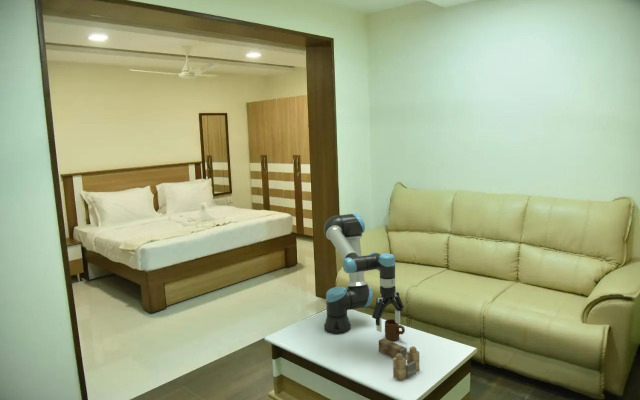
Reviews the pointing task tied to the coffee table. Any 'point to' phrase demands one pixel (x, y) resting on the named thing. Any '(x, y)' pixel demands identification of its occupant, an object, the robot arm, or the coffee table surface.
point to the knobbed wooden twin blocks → (406, 370)
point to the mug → (393, 330)
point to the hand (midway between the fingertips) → (388, 327)
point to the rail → (391, 348)
